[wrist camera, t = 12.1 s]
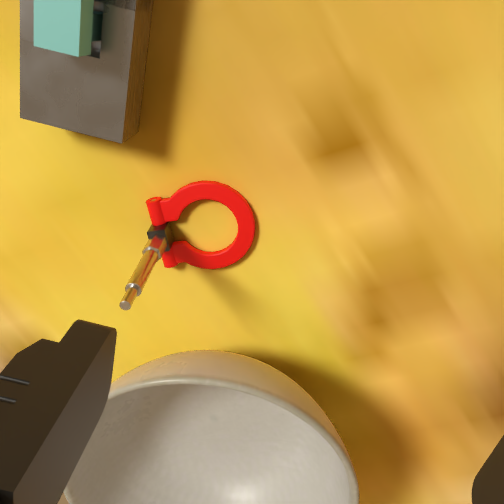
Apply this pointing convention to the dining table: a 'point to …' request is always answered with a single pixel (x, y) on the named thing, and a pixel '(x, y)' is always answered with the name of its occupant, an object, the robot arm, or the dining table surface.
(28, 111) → the rectangular board
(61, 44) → the teal rectangular prism
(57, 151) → the dining table surface
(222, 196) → the tow hook
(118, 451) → the decorative bowl
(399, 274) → the dining table surface
